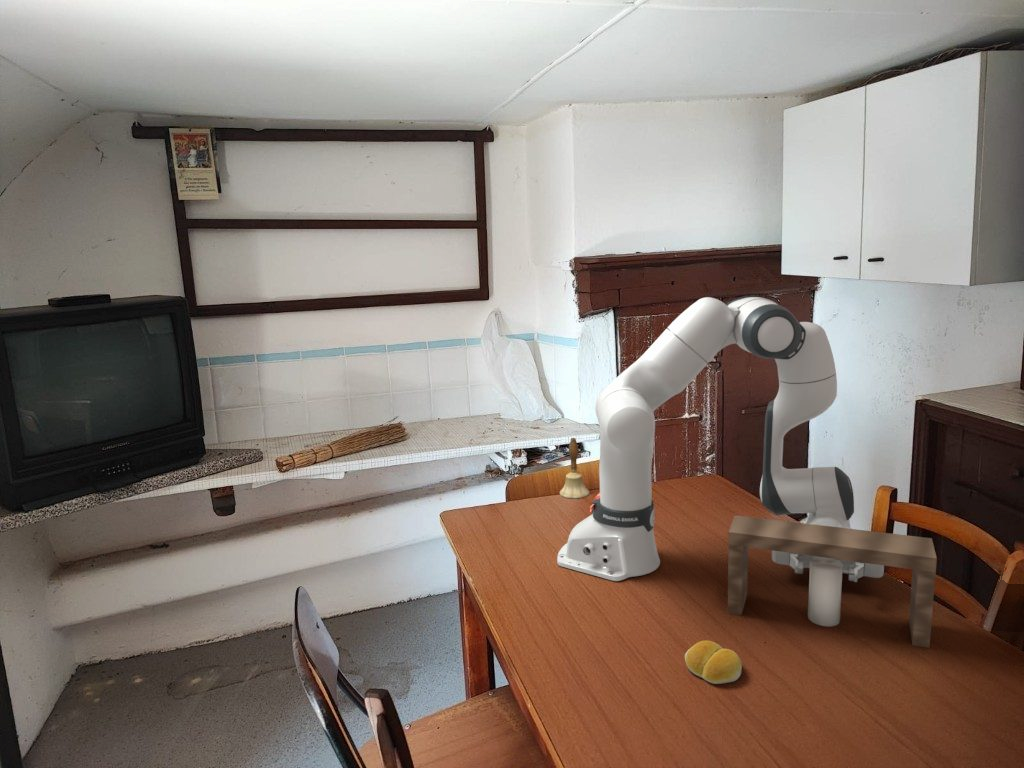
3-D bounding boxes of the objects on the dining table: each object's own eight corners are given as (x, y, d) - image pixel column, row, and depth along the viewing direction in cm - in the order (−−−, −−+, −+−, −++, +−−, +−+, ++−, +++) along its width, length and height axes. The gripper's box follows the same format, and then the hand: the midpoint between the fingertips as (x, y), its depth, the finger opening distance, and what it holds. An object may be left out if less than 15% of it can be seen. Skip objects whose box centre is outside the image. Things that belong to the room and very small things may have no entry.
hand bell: (569, 486, 202) (567, 432, 199) (594, 490, 198) (593, 436, 194) (554, 495, 196) (551, 440, 192) (580, 501, 191) (578, 444, 188)
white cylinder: (807, 623, 128) (809, 567, 126) (808, 608, 133) (810, 554, 131) (839, 628, 126) (842, 572, 124) (840, 613, 131) (842, 559, 129)
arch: (727, 613, 133) (728, 532, 130) (733, 592, 140) (734, 515, 137) (929, 648, 119) (936, 558, 116) (924, 623, 126) (931, 538, 123)
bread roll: (724, 693, 111) (724, 670, 110) (677, 668, 118) (677, 647, 117) (752, 670, 116) (753, 648, 116) (706, 648, 123) (706, 627, 122)
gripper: (774, 522, 149) (767, 550, 137) (882, 535, 141) (886, 566, 129) (773, 550, 151) (767, 580, 139) (881, 564, 142) (884, 598, 130)
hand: (825, 573), depth 134 cm, fingers open, 8 cm apart
